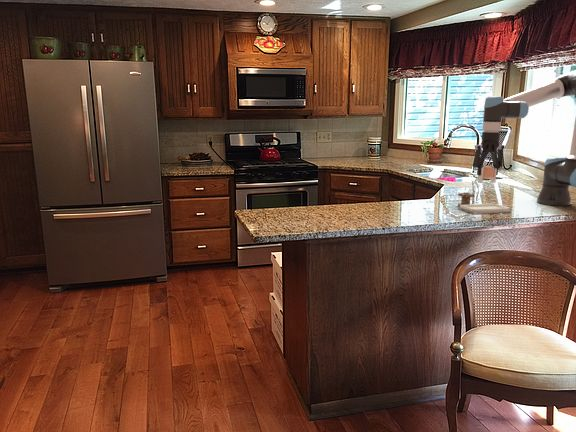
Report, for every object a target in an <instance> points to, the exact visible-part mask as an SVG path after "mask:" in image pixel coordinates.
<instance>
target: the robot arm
mask: <svg viewBox="0 0 576 432" xmlns="http://www.w3.org/2000/svg"><path fill="white" fill-rule="evenodd" d="M569 96H570V97H571V96H574V100H575V101H576V70H572V71H570V72H568V73H565V74H563V75H561V76H558V77H556V78H552V80H551V81H550V82H547V83H545V84H542V85H539V86H537V87H534V88H532V89H529V90H526V91H523V92H520V93H518V94H515V95H512V96H510V97H509V96H508V97H506V98H504V97H503V96H487V97H485V99H484V106H483V108H484V109H483V123H482V133H481V143H480V144H475V145H474V149H475V153H474V159H473V167H474V168H476V170H477V171H476V176H477V183H479V184H482V183H484V182H483V181H484V178H483V171H484V169H482V168H483V167H484V163H485V161H486V158H487V156H488V154H489V153H490V156H491V161H492V168H493V169H494V176H493V177H492V178H490V183H494V184H496V182H497V181H496V180H497V176H498V172H499V169H500V168H502V167H503V166H504V165H503V164H504V149H505V145H503V144H500V137H501V132H500V131H501V128H502V119H516V120H518V119H524V118H525V117H527V116H528V114H529V109H530V107H533V106H535V105H538V104H541V103H544V102H547V101H549V100H552V99H555V98H556V99H562V98H564V97H569ZM543 167H544V169H543V176H542V177H543V179H542V187H541V189H540V191H539V195H538V196H537V198H536V203H538V204H542V205H547V206H554V207H555V206H557V207H558V206H559V207H560V206H561V207H562V206H563V207H565V206H571V204H572V199H571V195H570V189H569V187H570V186H571V187H574V188H576V117H575V119H574V125H573V133H572V138H571V145H570V151H569V154H567V156H566V157H549V158H547V159H546V160H545V161H544V165H543Z"/></svg>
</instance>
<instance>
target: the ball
mask: <svg viewBox="0 0 576 432" xmlns="http://www.w3.org/2000/svg"><path fill="white" fill-rule="evenodd" d="M493 168H494V167H493V166H490V165H484V166H483V167H482V169H484V171H483V179H484V180H491V178H492V177H493V176H494V169H493Z"/></svg>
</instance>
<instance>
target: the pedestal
mask: <svg viewBox="0 0 576 432" xmlns="http://www.w3.org/2000/svg"><path fill="white" fill-rule="evenodd" d="M457 196H459V197H461V199H460V200H461V201H460V203H459V202H458V203H457V207H459V205H466V204H471V198H474V197H475V194H474V193H471V192H458V195H457Z"/></svg>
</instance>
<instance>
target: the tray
mask: <svg viewBox="0 0 576 432" xmlns="http://www.w3.org/2000/svg"><path fill="white" fill-rule="evenodd" d="M458 209H459V210H461V211H464V212H465V213H469V214H473V215H478V214H479V215H480V214H481V215H482V214H500V213H503V214H504V213H505V214H506V213H511V212H512V208H511V207H509V206H507V205H506V206H505V205H502V204H498V203H473V204H472V203H470V204H466V205H459V206H458Z"/></svg>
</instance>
